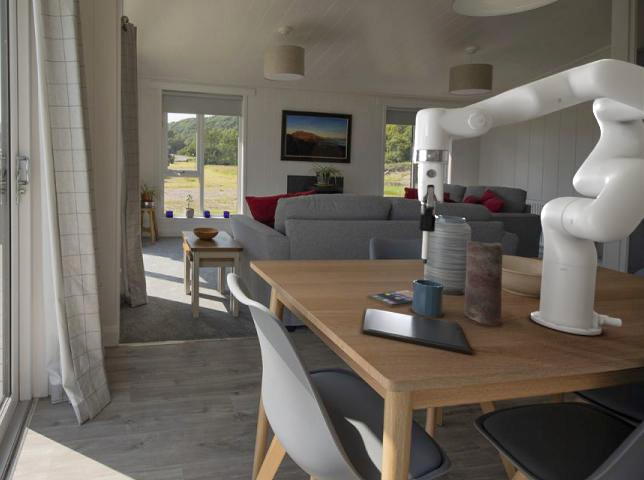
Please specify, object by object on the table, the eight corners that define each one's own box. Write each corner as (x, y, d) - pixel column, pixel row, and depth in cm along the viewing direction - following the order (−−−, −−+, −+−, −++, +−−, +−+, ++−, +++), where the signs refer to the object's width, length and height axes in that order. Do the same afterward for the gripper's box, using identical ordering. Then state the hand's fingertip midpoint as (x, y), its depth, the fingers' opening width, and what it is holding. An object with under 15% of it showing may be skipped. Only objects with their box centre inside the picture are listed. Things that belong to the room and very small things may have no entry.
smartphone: (368, 297, 113) (368, 293, 113) (406, 292, 119) (406, 288, 119) (391, 307, 106) (391, 302, 106) (431, 301, 111) (431, 297, 111)
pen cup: (439, 311, 103) (441, 281, 103) (442, 319, 97) (444, 288, 97) (411, 306, 106) (412, 277, 106) (412, 314, 100) (414, 284, 100)
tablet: (457, 326, 93) (458, 323, 93) (470, 354, 79) (470, 350, 79) (366, 311, 102) (366, 307, 102) (363, 333, 88) (363, 329, 88)
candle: (456, 316, 100) (460, 239, 99) (474, 313, 103) (479, 237, 102) (488, 328, 93) (494, 245, 92) (507, 324, 96) (512, 243, 95)
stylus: (428, 263, 100) (431, 208, 99) (428, 264, 99) (431, 209, 98) (421, 262, 101) (424, 208, 100) (421, 263, 99) (424, 208, 99)
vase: (430, 282, 131) (433, 214, 130) (471, 291, 122) (476, 218, 121) (418, 289, 123) (421, 216, 122) (461, 298, 114) (466, 220, 113)
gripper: (452, 157, 90) (448, 236, 91) (444, 159, 104) (440, 228, 105) (415, 156, 93) (411, 233, 94) (412, 158, 107) (408, 225, 108)
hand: (426, 230), depth 99 cm, fingers closed on stylus, 1 cm apart
